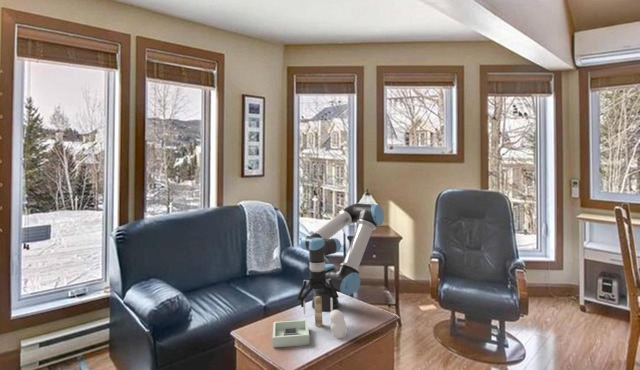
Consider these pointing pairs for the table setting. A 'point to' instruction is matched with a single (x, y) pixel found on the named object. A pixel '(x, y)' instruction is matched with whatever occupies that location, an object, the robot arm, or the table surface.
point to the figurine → (337, 324)
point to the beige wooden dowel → (318, 311)
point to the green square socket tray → (290, 333)
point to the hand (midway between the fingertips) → (318, 312)
